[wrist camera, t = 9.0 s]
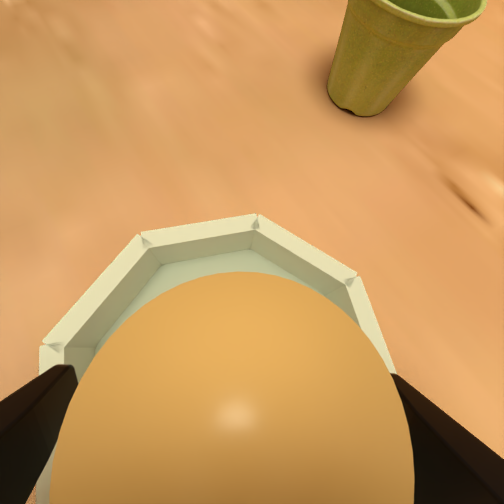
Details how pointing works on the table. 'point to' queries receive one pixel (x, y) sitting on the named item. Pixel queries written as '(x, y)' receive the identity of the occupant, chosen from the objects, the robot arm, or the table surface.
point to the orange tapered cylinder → (235, 405)
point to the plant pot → (390, 47)
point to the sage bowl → (189, 268)
